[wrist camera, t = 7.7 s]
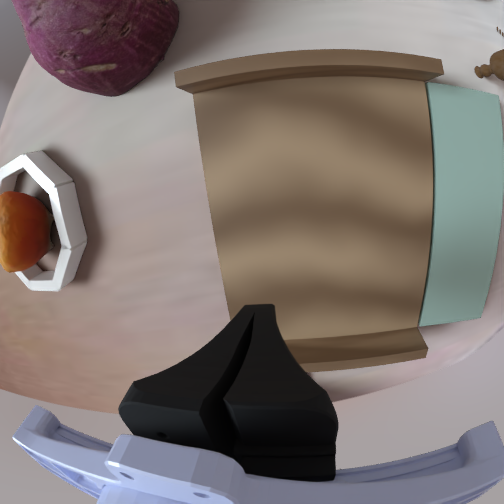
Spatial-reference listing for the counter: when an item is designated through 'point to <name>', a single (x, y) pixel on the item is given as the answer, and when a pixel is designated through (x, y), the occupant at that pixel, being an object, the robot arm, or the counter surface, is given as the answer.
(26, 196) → the fruit
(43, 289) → the fruit dish
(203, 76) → the tan lipped tray
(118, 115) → the counter surface
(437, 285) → the panel
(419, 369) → the counter surface
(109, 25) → the vegetable
